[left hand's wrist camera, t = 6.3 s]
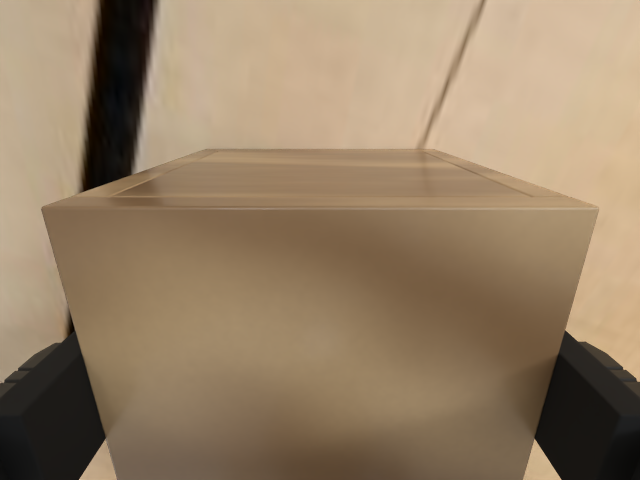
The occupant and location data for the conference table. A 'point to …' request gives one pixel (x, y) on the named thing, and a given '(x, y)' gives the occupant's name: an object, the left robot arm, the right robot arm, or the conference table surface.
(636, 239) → the conference table surface
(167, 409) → the cabinet
